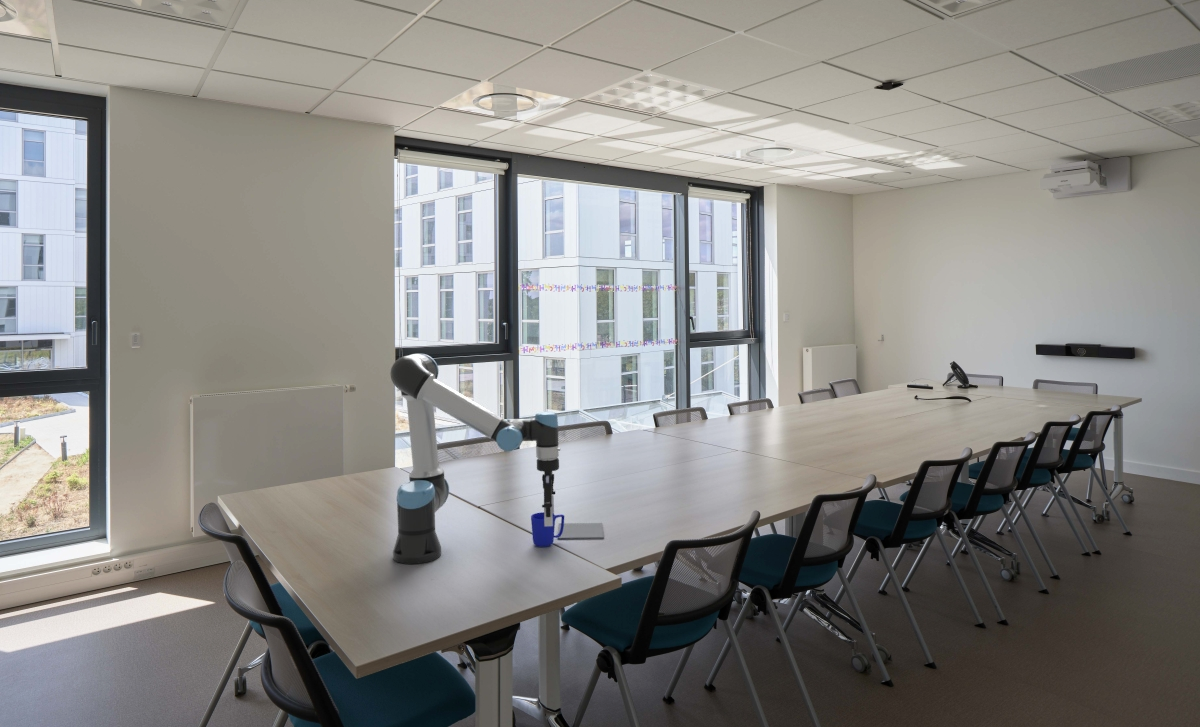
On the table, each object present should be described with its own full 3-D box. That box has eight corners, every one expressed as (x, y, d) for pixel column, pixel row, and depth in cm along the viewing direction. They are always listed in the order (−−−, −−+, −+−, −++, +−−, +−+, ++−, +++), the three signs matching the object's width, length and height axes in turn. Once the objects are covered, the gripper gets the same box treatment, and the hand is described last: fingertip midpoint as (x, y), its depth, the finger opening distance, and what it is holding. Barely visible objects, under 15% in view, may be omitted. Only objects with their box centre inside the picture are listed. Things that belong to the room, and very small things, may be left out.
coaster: (557, 539, 242) (557, 537, 242) (558, 525, 258) (558, 523, 258) (603, 538, 243) (603, 537, 243) (601, 524, 259) (601, 522, 259)
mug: (569, 543, 238) (569, 515, 237) (538, 550, 231) (537, 520, 231) (558, 537, 245) (558, 509, 244) (527, 543, 238) (526, 514, 238)
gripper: (557, 466, 223) (559, 531, 225) (559, 450, 248) (561, 508, 250) (534, 466, 223) (536, 531, 225) (538, 450, 248) (540, 509, 250)
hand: (549, 519), depth 237 cm, fingers open, 13 cm apart
